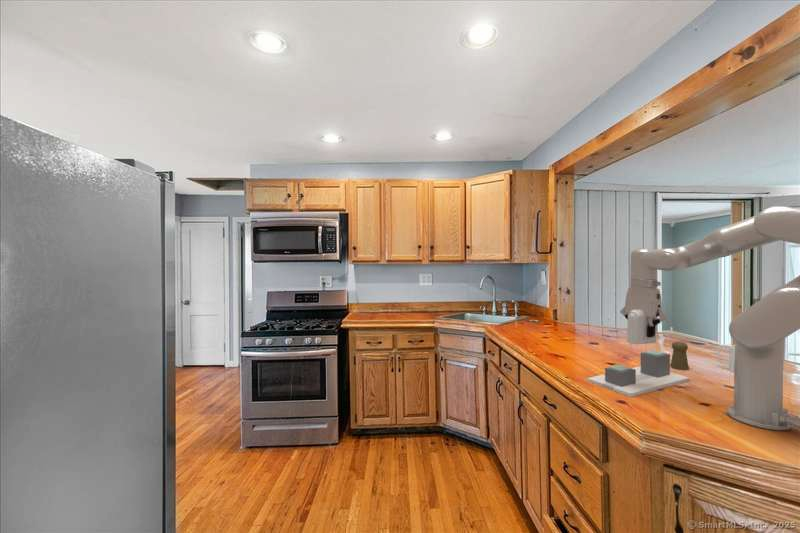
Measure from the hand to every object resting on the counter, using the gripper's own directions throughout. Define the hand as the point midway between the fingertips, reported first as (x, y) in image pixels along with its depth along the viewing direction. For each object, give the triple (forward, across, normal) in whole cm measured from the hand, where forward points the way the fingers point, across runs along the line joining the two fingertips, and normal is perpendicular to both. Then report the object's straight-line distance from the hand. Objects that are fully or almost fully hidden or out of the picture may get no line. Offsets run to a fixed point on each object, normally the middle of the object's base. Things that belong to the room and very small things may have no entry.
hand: (641, 334), depth 117 cm
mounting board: (+20, +5, -8) cm, 22 cm away
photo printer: (+3, 0, 0) cm, 3 cm away
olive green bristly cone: (+20, +5, -39) cm, 44 cm away
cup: (+20, -8, -54) cm, 58 cm away
